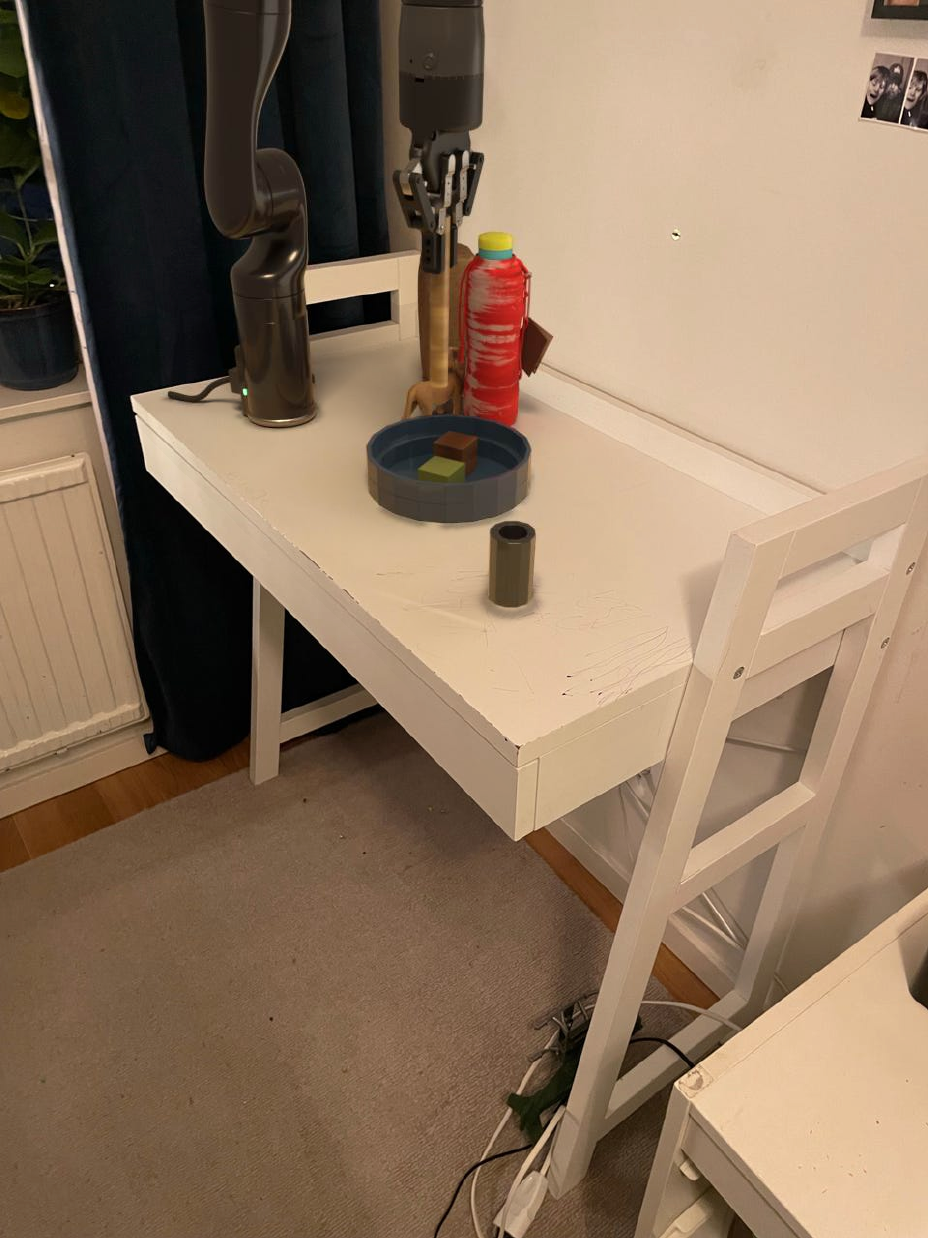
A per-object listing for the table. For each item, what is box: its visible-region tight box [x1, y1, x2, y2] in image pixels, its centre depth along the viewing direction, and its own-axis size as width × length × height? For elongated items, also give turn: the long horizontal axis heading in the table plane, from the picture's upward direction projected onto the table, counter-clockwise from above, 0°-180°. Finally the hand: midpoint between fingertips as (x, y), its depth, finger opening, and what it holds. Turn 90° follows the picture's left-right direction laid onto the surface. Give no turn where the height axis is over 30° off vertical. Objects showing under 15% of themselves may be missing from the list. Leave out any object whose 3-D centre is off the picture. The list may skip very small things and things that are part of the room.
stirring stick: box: [430, 212, 451, 388], centre depth 94 cm, size 2×2×17 cm
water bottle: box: [458, 231, 554, 427], centre depth 121 cm, size 12×8×25 cm, turn 101°
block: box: [417, 242, 475, 398], centre depth 133 cm, size 11×8×20 cm
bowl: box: [365, 413, 533, 524], centre depth 111 cm, size 19×19×6 cm
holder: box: [487, 520, 537, 609], centre depth 91 cm, size 4×4×8 cm
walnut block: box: [433, 431, 478, 477], centre depth 114 cm, size 4×4×4 cm
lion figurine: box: [400, 347, 466, 421], centre depth 125 cm, size 15×5×9 cm, turn 153°
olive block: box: [418, 456, 465, 483], centre depth 108 cm, size 4×4×4 cm
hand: (439, 268), depth 92 cm, fingers closed on stirring stick, 2 cm apart
